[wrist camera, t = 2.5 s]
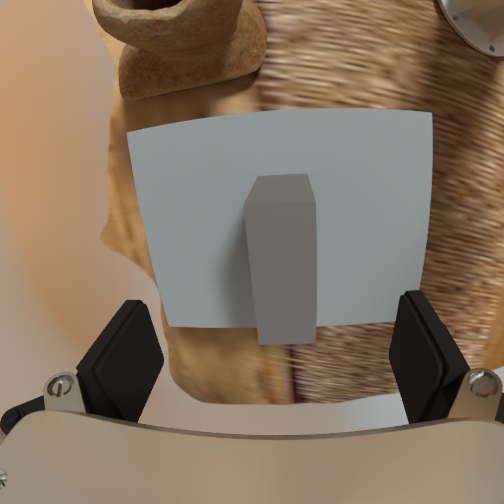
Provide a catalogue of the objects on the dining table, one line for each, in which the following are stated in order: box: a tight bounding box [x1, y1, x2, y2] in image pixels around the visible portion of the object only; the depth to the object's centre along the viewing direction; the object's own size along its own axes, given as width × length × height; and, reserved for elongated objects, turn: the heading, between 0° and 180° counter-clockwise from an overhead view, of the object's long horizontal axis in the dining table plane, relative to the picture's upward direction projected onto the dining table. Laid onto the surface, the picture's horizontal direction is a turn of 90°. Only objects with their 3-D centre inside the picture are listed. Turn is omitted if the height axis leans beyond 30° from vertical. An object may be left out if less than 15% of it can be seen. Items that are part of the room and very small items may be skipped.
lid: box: [127, 108, 433, 345], centre depth 17 cm, size 14×18×7 cm
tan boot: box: [92, 0, 267, 101], centre depth 19 cm, size 15×12×15 cm
